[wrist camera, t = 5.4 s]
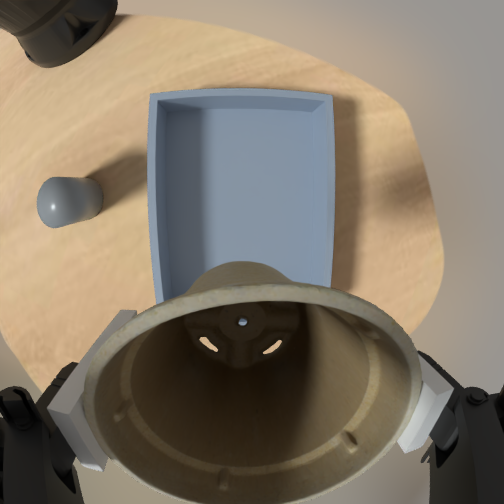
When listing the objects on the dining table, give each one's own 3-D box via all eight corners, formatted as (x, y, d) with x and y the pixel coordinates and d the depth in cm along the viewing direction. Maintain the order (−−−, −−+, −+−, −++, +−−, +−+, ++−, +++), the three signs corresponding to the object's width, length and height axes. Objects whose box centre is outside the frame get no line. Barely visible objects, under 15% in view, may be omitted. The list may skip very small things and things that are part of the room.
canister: (69, 180, 27) (36, 180, 20) (102, 175, 28) (72, 173, 21) (71, 221, 28) (38, 229, 21) (104, 218, 29) (74, 226, 22)
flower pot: (194, 192, 13) (130, 195, 4) (359, 271, 14) (470, 350, 6) (134, 348, 14) (78, 464, 6) (279, 400, 16) (308, 515, 7)
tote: (161, 107, 26) (150, 93, 22) (317, 107, 28) (332, 95, 23) (169, 309, 32) (160, 329, 27) (313, 305, 33) (326, 323, 28)
